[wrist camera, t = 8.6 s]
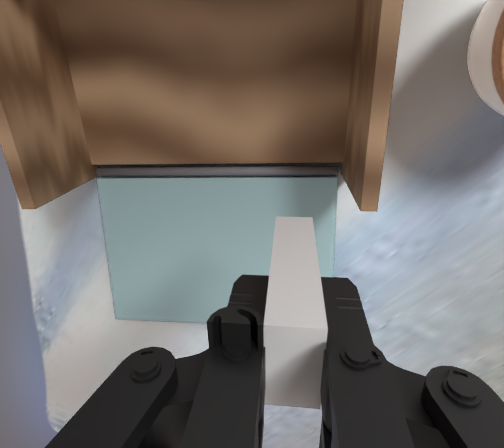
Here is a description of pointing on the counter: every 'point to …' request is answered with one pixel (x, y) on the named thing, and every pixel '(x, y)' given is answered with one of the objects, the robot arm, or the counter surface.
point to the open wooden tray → (194, 87)
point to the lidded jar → (488, 55)
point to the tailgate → (203, 232)
